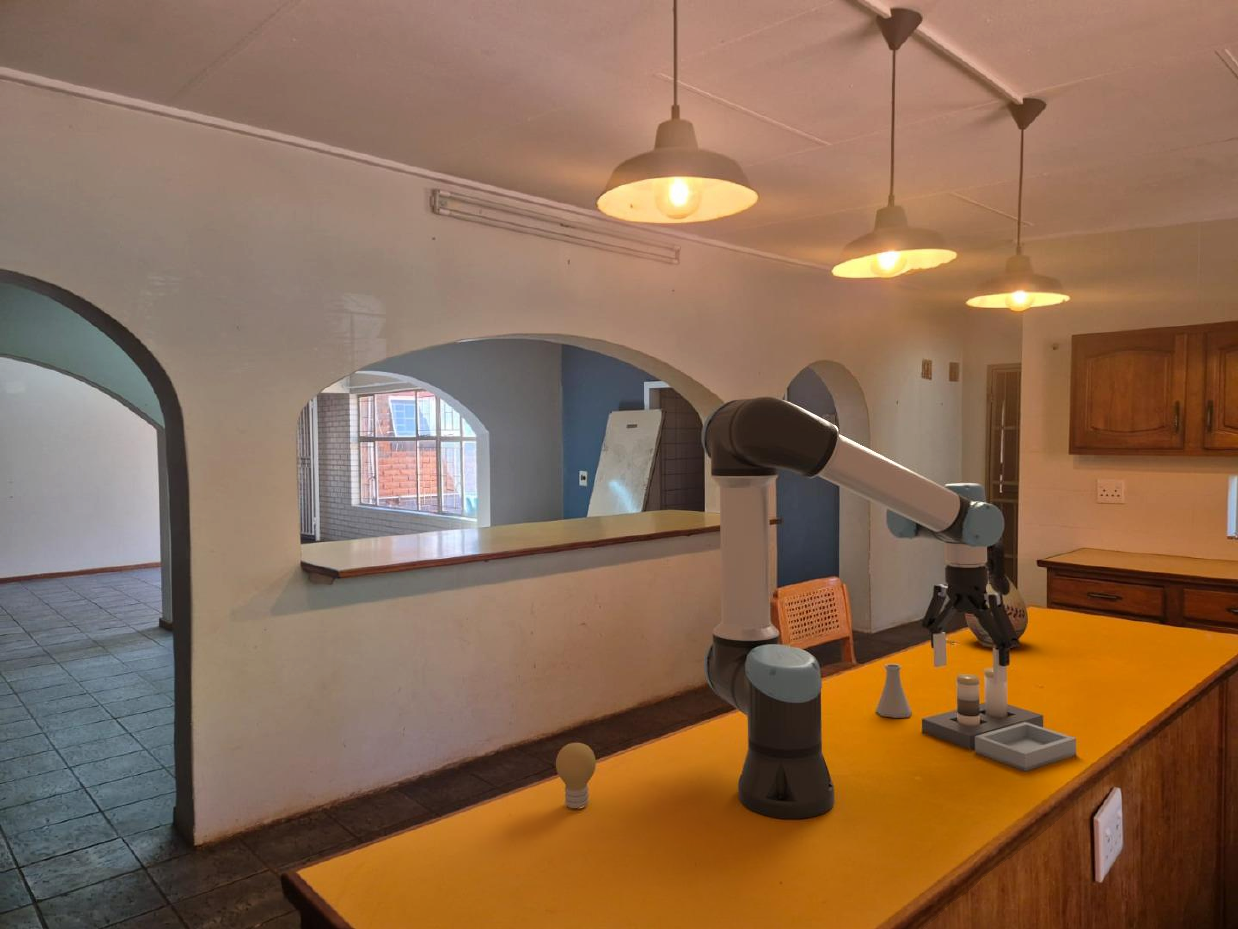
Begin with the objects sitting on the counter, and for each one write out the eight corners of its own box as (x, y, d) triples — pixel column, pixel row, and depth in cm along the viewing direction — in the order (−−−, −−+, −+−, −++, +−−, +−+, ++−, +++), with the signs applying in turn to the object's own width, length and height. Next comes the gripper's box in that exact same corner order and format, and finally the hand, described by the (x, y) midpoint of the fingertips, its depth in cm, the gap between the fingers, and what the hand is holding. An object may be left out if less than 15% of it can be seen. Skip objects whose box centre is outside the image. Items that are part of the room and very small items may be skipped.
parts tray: (1025, 771, 139) (1024, 754, 139) (975, 752, 148) (974, 736, 148) (1076, 755, 145) (1076, 738, 145) (1025, 737, 154) (1025, 722, 154)
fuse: (998, 730, 158) (997, 674, 158) (980, 724, 162) (979, 669, 161) (1012, 727, 160) (1011, 671, 160) (994, 721, 164) (993, 666, 163)
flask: (914, 720, 166) (913, 671, 165) (877, 718, 167) (876, 670, 167) (909, 708, 173) (908, 661, 172) (873, 707, 174) (872, 660, 174)
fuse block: (969, 749, 149) (969, 736, 149) (922, 731, 159) (921, 718, 159) (1043, 728, 159) (1043, 715, 159) (994, 712, 169) (993, 700, 169)
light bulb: (559, 797, 134) (557, 737, 133) (598, 797, 134) (596, 736, 133) (554, 815, 127) (553, 752, 127) (595, 815, 127) (594, 751, 127)
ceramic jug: (958, 638, 231) (957, 532, 230) (1016, 638, 228) (1015, 531, 228) (976, 653, 214) (974, 539, 213) (1039, 654, 212) (1037, 539, 211)
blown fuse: (970, 739, 154) (969, 681, 154) (952, 732, 158) (951, 676, 158) (984, 734, 156) (983, 677, 156) (967, 728, 160) (966, 673, 160)
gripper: (1038, 569, 147) (1041, 686, 148) (927, 555, 169) (930, 656, 170) (1011, 574, 143) (1014, 694, 144) (901, 558, 166) (904, 662, 166)
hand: (969, 674), depth 157 cm, fingers open, 13 cm apart
